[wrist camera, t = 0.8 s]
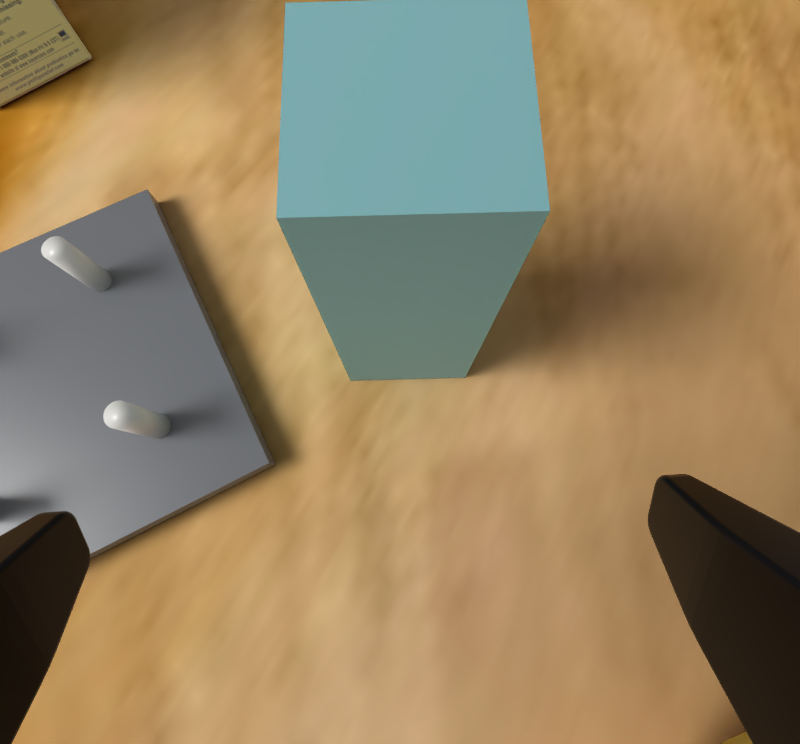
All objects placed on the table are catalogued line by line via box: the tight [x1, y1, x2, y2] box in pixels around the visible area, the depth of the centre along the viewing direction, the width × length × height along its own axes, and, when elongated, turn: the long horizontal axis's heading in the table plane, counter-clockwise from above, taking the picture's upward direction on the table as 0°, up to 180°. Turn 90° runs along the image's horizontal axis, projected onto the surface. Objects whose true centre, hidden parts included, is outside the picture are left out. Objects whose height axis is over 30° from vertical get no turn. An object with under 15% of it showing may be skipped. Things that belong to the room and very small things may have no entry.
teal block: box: [276, 0, 550, 381], centre depth 16 cm, size 5×5×13 cm
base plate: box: [0, 190, 275, 559], centre depth 20 cm, size 14×14×4 cm
